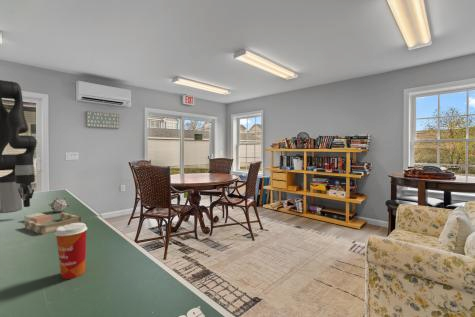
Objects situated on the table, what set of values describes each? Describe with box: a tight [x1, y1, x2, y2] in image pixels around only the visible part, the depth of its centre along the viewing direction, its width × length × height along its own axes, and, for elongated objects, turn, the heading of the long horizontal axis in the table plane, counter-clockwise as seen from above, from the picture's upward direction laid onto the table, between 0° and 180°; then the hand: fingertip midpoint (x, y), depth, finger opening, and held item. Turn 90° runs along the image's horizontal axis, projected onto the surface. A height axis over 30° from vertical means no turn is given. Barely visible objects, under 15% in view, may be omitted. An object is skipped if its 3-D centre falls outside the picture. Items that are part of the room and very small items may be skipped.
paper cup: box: [54, 222, 88, 280], centre depth 68 cm, size 8×8×14 cm
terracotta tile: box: [31, 214, 52, 225], centre depth 116 cm, size 6×6×3 cm
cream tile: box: [23, 212, 46, 221], centre depth 119 cm, size 6×6×3 cm
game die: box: [48, 197, 70, 214], centre depth 134 cm, size 9×8×10 cm
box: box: [24, 211, 82, 235], centre depth 110 cm, size 17×15×4 cm
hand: (26, 206), depth 123 cm, fingers closed
